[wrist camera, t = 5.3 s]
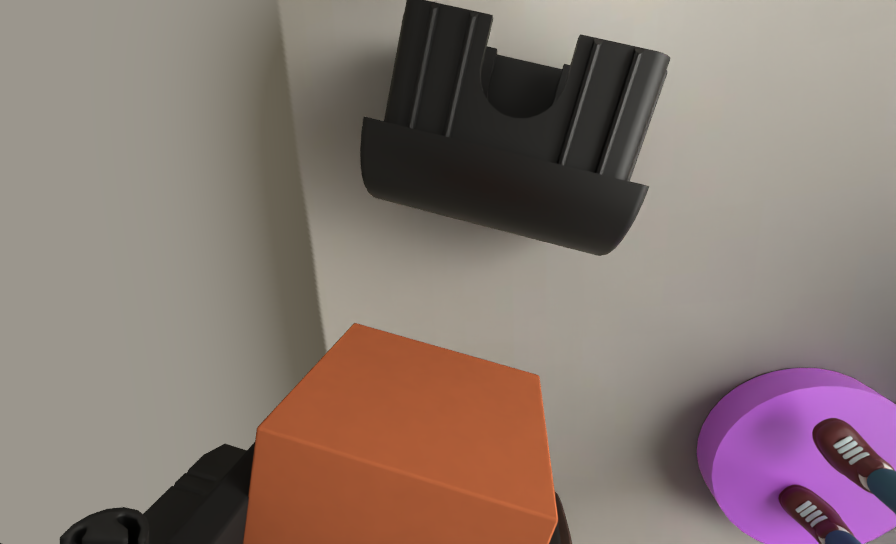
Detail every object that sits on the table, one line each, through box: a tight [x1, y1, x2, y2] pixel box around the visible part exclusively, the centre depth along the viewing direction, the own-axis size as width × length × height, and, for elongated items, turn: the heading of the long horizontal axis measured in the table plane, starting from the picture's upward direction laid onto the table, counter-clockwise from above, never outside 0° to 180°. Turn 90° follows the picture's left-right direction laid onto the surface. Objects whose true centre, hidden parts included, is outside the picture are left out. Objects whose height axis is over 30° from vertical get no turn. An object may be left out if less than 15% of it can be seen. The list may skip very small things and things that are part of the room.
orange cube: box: [243, 323, 558, 544], centre depth 12 cm, size 6×6×6 cm
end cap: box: [360, 0, 670, 256], centre depth 17 cm, size 10×7×7 cm
